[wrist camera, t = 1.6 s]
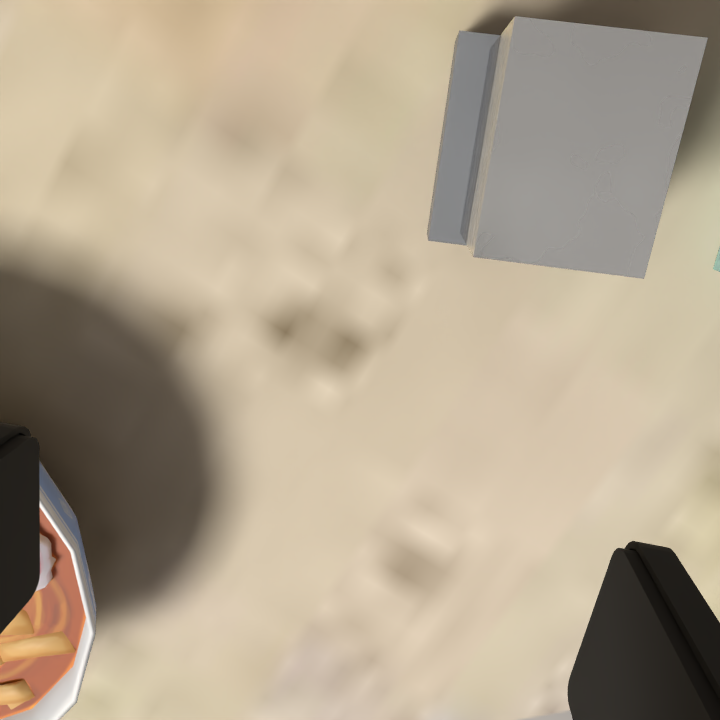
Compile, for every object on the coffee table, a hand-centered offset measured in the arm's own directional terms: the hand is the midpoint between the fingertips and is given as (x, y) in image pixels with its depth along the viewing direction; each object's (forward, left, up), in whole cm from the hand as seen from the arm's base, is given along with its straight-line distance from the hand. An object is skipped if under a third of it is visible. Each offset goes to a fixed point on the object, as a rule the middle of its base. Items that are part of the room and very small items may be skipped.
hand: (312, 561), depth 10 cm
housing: (-7, +6, -19) cm, 21 cm away
